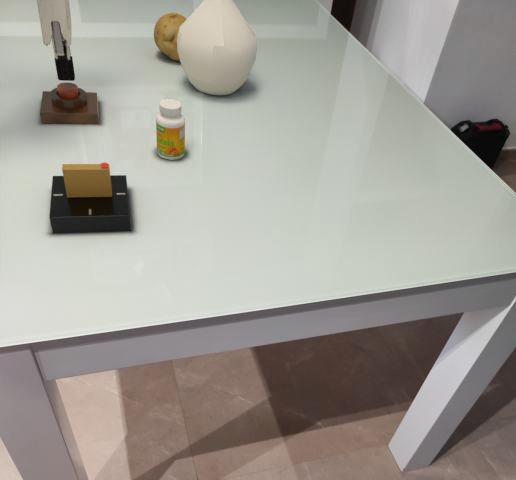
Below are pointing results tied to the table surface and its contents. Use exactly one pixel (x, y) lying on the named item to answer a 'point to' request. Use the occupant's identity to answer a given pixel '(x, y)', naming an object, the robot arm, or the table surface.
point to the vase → (216, 47)
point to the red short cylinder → (67, 90)
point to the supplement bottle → (170, 130)
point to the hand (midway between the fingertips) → (66, 78)
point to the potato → (168, 34)
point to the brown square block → (69, 108)
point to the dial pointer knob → (87, 180)
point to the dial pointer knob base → (90, 209)
